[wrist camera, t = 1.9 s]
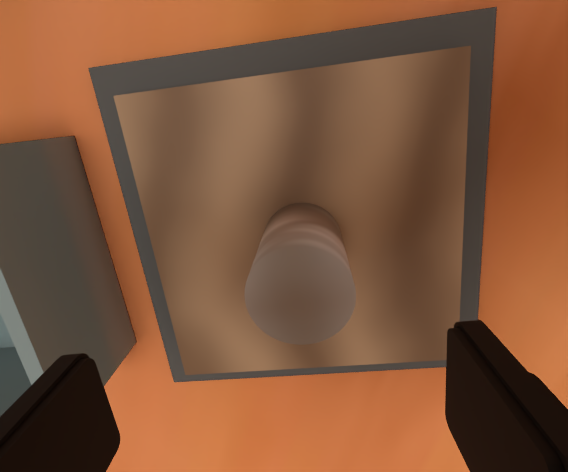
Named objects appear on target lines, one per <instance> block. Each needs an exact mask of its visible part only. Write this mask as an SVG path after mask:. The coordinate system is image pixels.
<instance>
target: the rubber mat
mask: <svg viewBox="0 0 568 472" xmlns="http://www.w3.org/2000/svg"><path fill="white" fill-rule="evenodd" d="M496 11H497V7H493V8H486V9H479V10H473V11H466V12H459V13H453V14H446V15H439V16H433V17H426V18H419V19H413V20H406V21H399V22H393V23H386V24H379V25H373V26H366V27H359V28H353V29H346V30H339V31H333V32H326V33H319V34H313V35H306V36H299V37H293V38H286V39H279V40H273V41H266V42H259V43H253V44H246V45H239V46H233V47H226V48H219V49H213V50H206V51H199V52H193V53H186V54H179V55H173V56H166V57H159V58H153V59H146V60H139V61H133V62H126V63H119V64H113V65H106V66H99V67H93V68H89V72H90V76H91V79H92V83H93V87H94V90H95V94H96V98H97V101H98V105H99V109H100V112H101V116H102V120H103V123H104V127H105V131H106V134H107V138H108V142H109V145H110V149H111V153H112V156H113V160H114V164H115V167H116V171H117V175H118V178H119V182H120V186H121V189H122V193H123V197H124V200H125V204H126V208H127V211H128V215H129V219H130V222H131V226H132V230H133V233H134V237H135V241H136V244H137V248H138V252H139V255H140V259H141V263H142V266H143V270H144V274H145V277H146V281H147V285H148V288H149V292H150V296H151V299H152V303H153V307H154V310H155V314H156V318H157V321H158V325H159V329H160V332H161V336H162V340H163V343H164V347H165V351H166V354H167V358H168V361H169V365H170V369H171V372H172V376H173V380H174V382H186V381H204V380H222V379H240V378H258V377H275V376H293V375H311V374H329V373H347V372H365V371H383V370H401V369H418V368H436V367H446V360H437V361H420V362H403V363H385V364H368V365H351V366H334V367H316V368H299V369H282V370H264V371H247V372H230V373H212V374H195V375H185V371H184V368H183V364H182V360H181V356H180V352H179V348H178V344H177V340H176V337H175V333H174V329H173V325H172V321H171V317H170V313H169V309H168V306H167V302H166V298H165V294H164V290H163V286H162V282H161V278H160V275H159V271H158V267H157V263H156V259H155V255H154V251H153V248H152V244H151V240H150V236H149V232H148V228H147V224H146V220H145V217H144V213H143V209H142V205H141V201H140V197H139V193H138V189H137V186H136V182H135V178H134V174H133V170H132V166H131V162H130V158H129V155H128V151H127V147H126V143H125V139H124V135H123V131H122V128H121V124H120V120H119V116H118V112H117V108H116V104H115V100H114V97H113V96H116V95H123V94H130V93H137V92H145V91H152V90H159V89H166V88H173V87H180V86H187V85H194V84H201V83H208V82H216V81H223V80H230V79H237V78H244V77H251V76H258V75H265V74H272V73H279V72H287V71H294V70H301V69H308V68H315V67H322V66H329V65H336V64H343V63H351V62H358V61H365V60H372V59H379V58H386V57H393V56H400V55H407V54H414V53H422V52H429V51H436V50H443V49H450V48H457V47H464V46H471V57H470V81H469V105H468V129H467V153H466V177H465V201H464V225H463V248H462V272H461V296H460V320H459V322H460V321H472V320H478V307H479V290H480V274H481V257H482V241H483V224H484V208H485V191H486V175H487V159H488V142H489V126H490V109H491V93H492V76H493V60H494V43H495V27H496Z"/></svg>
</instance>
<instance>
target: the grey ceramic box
mask: <svg viewBox="0 0 568 472" xmlns="http://www.w3.org/2000/svg"><path fill="white" fill-rule="evenodd" d="M135 343H136V339H135V336H134V332H133V329H132V326H131V322H130V319H129V316H128V312H127V309H126V306H125V302H124V299H123V296H122V292H121V289H120V286H119V282H118V279H117V276H116V272H115V269H114V266H113V263H112V259H111V256H110V253H109V249H108V246H107V243H106V239H105V236H104V233H103V229H102V226H101V223H100V219H99V216H98V213H97V209H96V206H95V203H94V199H93V196H92V193H91V190H90V186H89V183H88V180H87V176H86V173H85V170H84V166H83V163H82V160H81V156H80V153H79V150H78V146H77V143H76V140H75V136H68V137H59V138H50V139H41V140H33V141H24V142H15V143H6V144H0V416H1V415H2V414H3V413H4V412H5V411H6V410H7V409H8V408H9V407H10V406H11V405H12V404H13V403H14V402H15V401H16V400H17V399H18V398H19V397H20V396H21V395H22V394H23V393H24V392H25V391H26V390H27V389H28V388H29V387H30V386H31V385H32V384H33V383H34V382H35V381H36V380H37V379H38V378H39V377H40V376H41V375H42V374H43V373H44V372H45V371H46V370H47V369H48V368H49V367H50V366H51V365H52V364H53V363H54V362H55V361H56V360H57V359H58V358H59V357H60V356H62V355H68V354H80V353H85V354H87V355H88V356H89V357H90V358H92V359H93V360H94V361H95V363H96V366H97V368H98V371H99V374H100V377H101V380H102V383H103V386H104V385H105V384H106V383H107V381H108V380H109V379H110V377H111V376H112V375H113V373H114V372H115V371H116V369H117V368H118V366H119V365H120V364H121V362H122V361H123V360H124V358H125V357H126V356H127V354H128V353H129V352H130V350H131V349H132V347H133V346H134V345H135Z"/></svg>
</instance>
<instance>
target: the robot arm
mask: <svg viewBox="0 0 568 472" xmlns="http://www.w3.org/2000/svg"><path fill="white" fill-rule="evenodd" d="M445 415H446V420H447V424H448V427H449V429H450V431H451V433H452V435H453V438H454V440H455V442H456V444H457V446H458V448H459V450H460V452H461V454H462V456H463V458H464V460H465V462H466V464H467V466H468V468H469V471H470V472H568V409H567V408H566V407H565V406H564V405H563V404H562V403H561V402H560V401H559V400H558V398H557V397H556V396H555V395H554V394H553V393H552V392H551V391H550V390H549V389H548V388H547V387H546V385H545V384H544V383H543V382H542V381H541V380H540V379H539V378H538V377H537V376H535V375H534V374H532V373H529V372H528V371H527V370H526V369H525V368H524V367H523V366H522V365H521V364H520V363H519V361H518V360H517V359H516V358H515V357H514V356H513V355H512V354H511V353H510V351H509V350H508V349H507V348H506V347H505V346H504V345H503V344H502V343H501V341H500V340H499V339H498V338H497V337H496V336H495V335H494V334H493V333H492V332H491V330H490V329H489V328H488V327H487V326H486V325H485V324H484V323H483V322H482V321H481V320H472V321H460V322H456V323H455V324H454V328H449V329H448V331H447V360H446V404H445ZM119 444H120V434H119V430H118V428H117V425H116V422H115V419H114V416H113V413H112V410H111V407H110V404H109V401H108V398H107V395H106V392H105V389H104V386H103V383H102V380H101V377H100V374H99V371H98V368H97V366H96V363H95V361H94V360H93V359H92V358H90V357H89V356H88V355H87V354H85V353H80V354H68V355H62V356H60V357H59V358H58V359H57V360H56V361H55V362H54V363H53V364H52V365H51V366H50V367H49V368H48V369H47V370H46V371H45V372H44V373H43V374H42V375H41V376H40V377H39V378H38V379H37V380H36V381H35V382H34V383H33V384H32V385H31V386H30V387H29V388H28V389H27V390H26V391H25V392H24V393H23V394H22V395H21V396H20V397H19V398H18V399H17V400H16V401H15V402H14V403H13V404H12V405H11V406H10V407H9V408H8V409H7V410H6V411H5V412H4V413H3V414H2V415H1V416H0V472H106V470H107V469H108V467H109V465H110V463H111V461H112V459H113V457H114V456H115V454H116V452H117V450H118V448H119Z"/></svg>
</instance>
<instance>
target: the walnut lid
mask: <svg viewBox="0 0 568 472" xmlns="http://www.w3.org/2000/svg"><path fill="white" fill-rule="evenodd" d="M470 57H471V46H464V47H457V48H450V49H443V50H436V51H429V52H422V53H414V54H407V55H400V56H393V57H386V58H379V59H372V60H365V61H358V62H351V63H343V64H336V65H329V66H322V67H315V68H308V69H301V70H294V71H287V72H279V73H272V74H265V75H258V76H251V77H244V78H237V79H230V80H223V81H216V82H208V83H201V84H194V85H187V86H180V87H173V88H166V89H159V90H152V91H145V92H137V93H130V94H123V95H116V96H113V97H114V100H115V104H116V108H117V112H118V116H119V120H120V124H121V128H122V131H123V135H124V139H125V143H126V147H127V151H128V155H129V158H130V162H131V166H132V170H133V174H134V178H135V182H136V186H137V189H138V193H139V197H140V201H141V205H142V209H143V213H144V217H145V220H146V224H147V228H148V232H149V236H150V240H151V244H152V248H153V251H154V255H155V259H156V263H157V267H158V271H159V275H160V278H161V282H162V286H163V290H164V294H165V298H166V302H167V306H168V309H169V313H170V317H171V321H172V325H173V329H174V333H175V337H176V340H177V344H178V348H179V352H180V356H181V360H182V364H183V368H184V371H185V375H195V374H212V373H230V372H247V371H264V370H282V369H299V368H316V367H334V366H351V365H368V364H385V363H403V362H420V361H437V360H447V331H448V329H449V328H454V324H455V323H456V322H459V320H460V296H461V272H462V248H463V225H464V201H465V177H466V153H467V129H468V105H469V81H470Z"/></svg>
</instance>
